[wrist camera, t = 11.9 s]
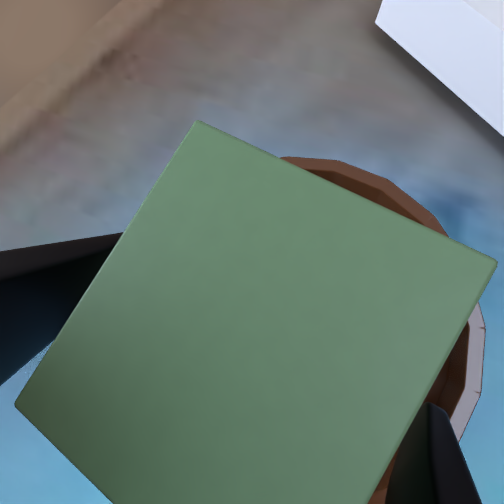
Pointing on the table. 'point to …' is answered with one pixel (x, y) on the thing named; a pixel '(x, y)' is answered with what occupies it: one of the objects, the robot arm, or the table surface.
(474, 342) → the bowl
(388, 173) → the table surface
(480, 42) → the bracket
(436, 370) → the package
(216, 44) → the table surface
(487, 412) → the table surface
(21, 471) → the table surface
